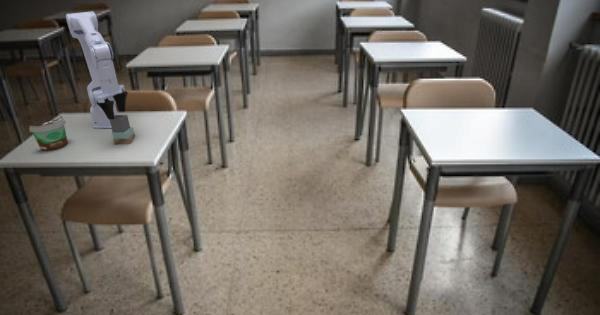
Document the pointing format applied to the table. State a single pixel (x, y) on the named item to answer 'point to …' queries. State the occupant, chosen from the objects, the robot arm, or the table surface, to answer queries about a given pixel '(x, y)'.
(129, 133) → the teal slab
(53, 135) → the food container
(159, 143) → the table surface
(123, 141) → the walnut slab
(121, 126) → the charcoal block
